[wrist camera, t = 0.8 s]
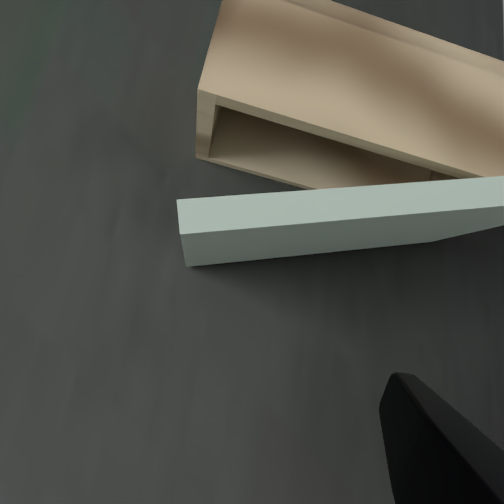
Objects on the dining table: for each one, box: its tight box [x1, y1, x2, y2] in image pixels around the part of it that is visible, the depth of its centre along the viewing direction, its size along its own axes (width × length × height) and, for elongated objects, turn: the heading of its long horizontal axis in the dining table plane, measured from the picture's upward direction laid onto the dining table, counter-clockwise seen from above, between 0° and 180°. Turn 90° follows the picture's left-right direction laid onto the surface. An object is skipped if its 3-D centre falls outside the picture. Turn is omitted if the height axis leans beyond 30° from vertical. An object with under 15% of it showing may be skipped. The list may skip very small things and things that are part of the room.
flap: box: [177, 176, 504, 267], centre depth 18 cm, size 1×16×12 cm, turn 97°
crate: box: [196, 0, 504, 190], centre depth 21 cm, size 6×16×8 cm, turn 76°
